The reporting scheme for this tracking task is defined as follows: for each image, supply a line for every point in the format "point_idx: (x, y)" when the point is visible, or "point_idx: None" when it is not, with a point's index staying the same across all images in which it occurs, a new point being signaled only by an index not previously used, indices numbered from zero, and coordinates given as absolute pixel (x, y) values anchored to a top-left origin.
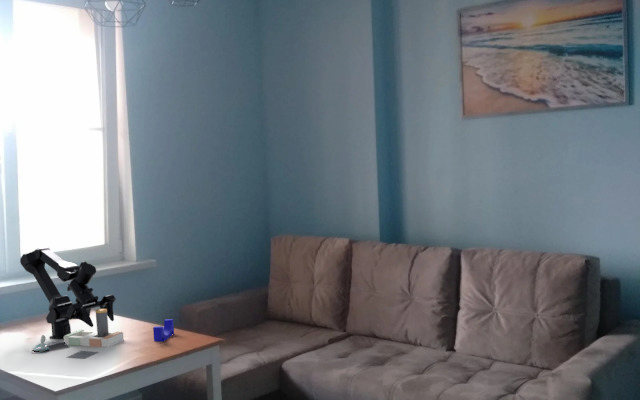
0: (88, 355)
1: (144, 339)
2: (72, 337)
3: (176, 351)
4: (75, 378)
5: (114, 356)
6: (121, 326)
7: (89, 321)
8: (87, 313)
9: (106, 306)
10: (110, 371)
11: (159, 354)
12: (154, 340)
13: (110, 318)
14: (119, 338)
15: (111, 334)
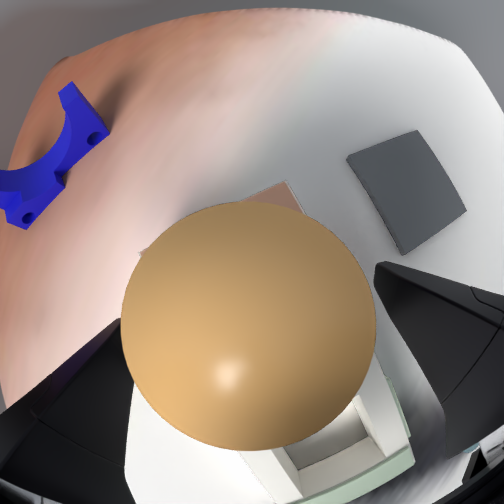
0: (399, 151)
1: (91, 212)
2: (401, 422)
3: (157, 30)
4: (436, 53)
5: (312, 86)
6: None
7: (427, 276)
8: (492, 312)
9: (71, 484)
10: (362, 22)
11: (200, 29)
12: (105, 128)
13: None
14: None
15: None
